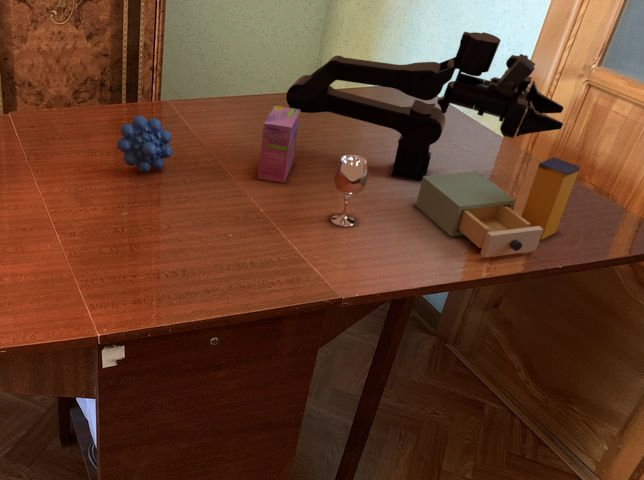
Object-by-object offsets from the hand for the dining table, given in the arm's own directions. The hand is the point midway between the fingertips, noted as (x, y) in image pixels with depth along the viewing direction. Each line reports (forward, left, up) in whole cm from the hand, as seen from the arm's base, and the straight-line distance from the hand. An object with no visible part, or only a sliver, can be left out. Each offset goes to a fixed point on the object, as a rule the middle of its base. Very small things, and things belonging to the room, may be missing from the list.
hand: (562, 117), depth 141 cm
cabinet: (-14, -14, -16) cm, 26 cm away
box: (-51, -7, -16) cm, 54 cm away
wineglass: (-35, -24, -16) cm, 45 cm away
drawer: (-9, -23, -15) cm, 29 cm away
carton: (-1, -15, -16) cm, 22 cm away
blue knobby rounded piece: (-76, -18, -16) cm, 80 cm away
